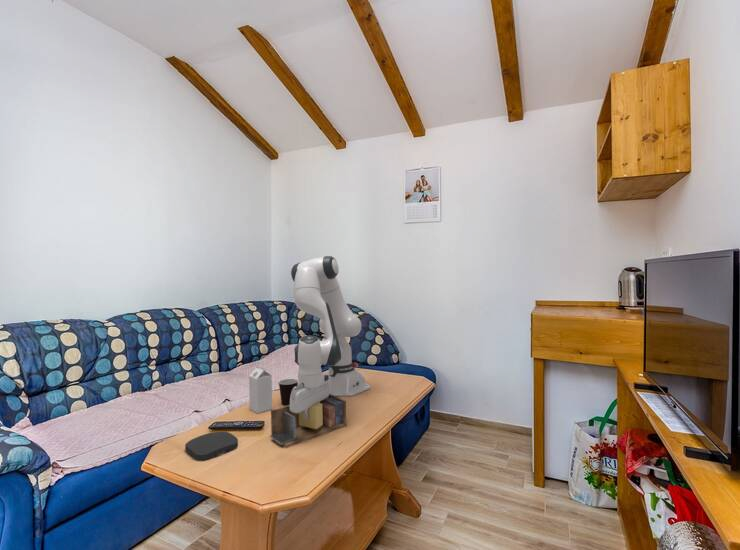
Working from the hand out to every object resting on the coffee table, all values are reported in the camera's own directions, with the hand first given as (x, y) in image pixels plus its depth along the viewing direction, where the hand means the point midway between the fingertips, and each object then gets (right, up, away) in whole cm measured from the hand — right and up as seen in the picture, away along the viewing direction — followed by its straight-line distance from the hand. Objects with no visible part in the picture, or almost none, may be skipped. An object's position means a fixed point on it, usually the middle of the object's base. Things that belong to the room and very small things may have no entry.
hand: (310, 416), depth 140 cm
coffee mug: (-15, -6, +32) cm, 36 cm away
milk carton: (-26, -6, +24) cm, 35 cm away
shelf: (0, -6, +1) cm, 6 cm away
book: (0, -3, 0) cm, 3 cm away
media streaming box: (-32, -7, -11) cm, 35 cm away
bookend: (-9, -5, -7) cm, 13 cm away
